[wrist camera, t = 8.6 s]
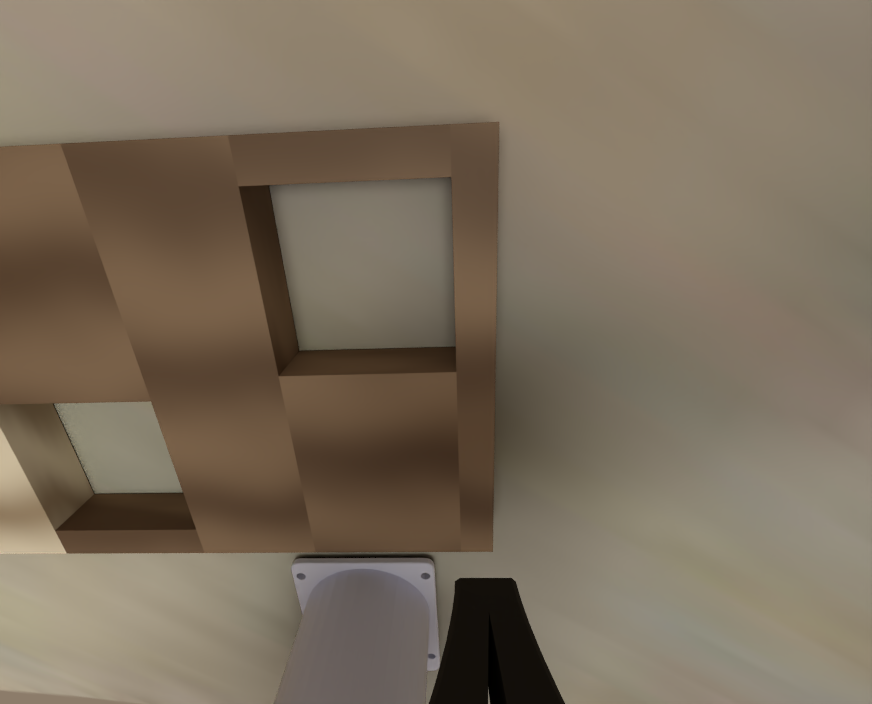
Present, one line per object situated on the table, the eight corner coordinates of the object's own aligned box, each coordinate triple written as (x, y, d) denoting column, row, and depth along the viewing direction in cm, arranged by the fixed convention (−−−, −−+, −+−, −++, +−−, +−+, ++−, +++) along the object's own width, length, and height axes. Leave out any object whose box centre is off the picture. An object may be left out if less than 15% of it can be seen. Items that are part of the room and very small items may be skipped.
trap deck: (488, 512, 23) (495, 579, 19) (-1, 516, 24) (-82, 580, 20) (492, 127, 15) (504, 117, 12) (-208, 162, 17) (-393, 162, 13)
